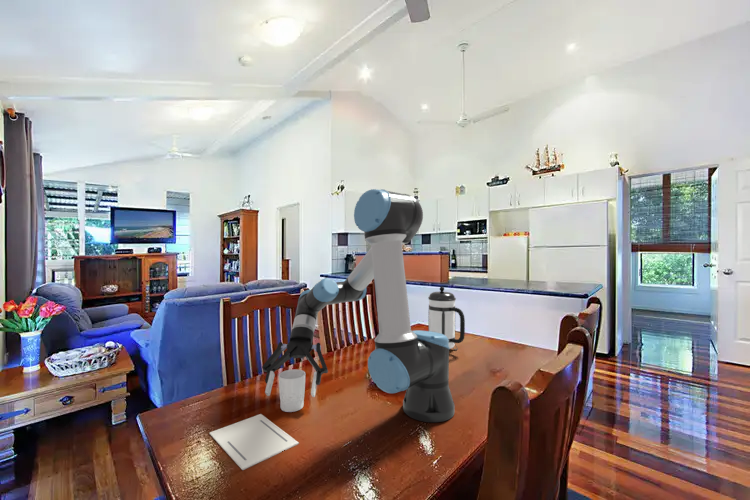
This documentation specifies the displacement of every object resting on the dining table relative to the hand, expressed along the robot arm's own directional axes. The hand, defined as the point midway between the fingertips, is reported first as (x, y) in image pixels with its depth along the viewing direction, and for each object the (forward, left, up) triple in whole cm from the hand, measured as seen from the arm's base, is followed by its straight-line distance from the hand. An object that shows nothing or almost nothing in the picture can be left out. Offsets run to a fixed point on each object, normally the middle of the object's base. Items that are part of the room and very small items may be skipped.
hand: (290, 394), depth 99 cm
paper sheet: (-6, +14, -5) cm, 16 cm away
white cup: (+2, -2, -5) cm, 5 cm away
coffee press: (+2, -84, -5) cm, 84 cm away
